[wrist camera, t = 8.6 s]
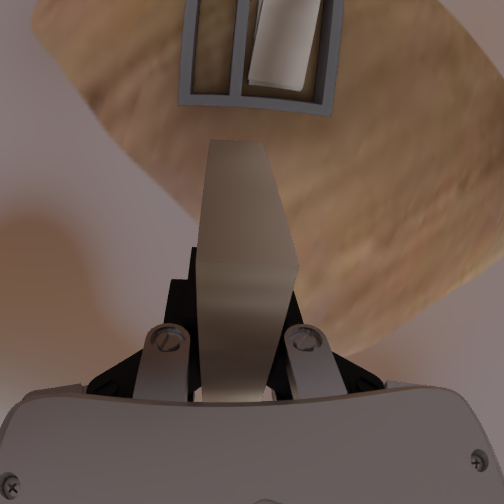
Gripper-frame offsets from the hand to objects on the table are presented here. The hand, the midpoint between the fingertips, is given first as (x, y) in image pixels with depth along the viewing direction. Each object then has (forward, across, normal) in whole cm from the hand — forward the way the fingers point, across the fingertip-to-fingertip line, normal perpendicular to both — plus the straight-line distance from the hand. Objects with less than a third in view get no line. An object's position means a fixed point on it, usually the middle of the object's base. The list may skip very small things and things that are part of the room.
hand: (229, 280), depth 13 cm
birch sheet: (0, 0, +7) cm, 7 cm away
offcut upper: (+20, -5, -12) cm, 24 cm away
